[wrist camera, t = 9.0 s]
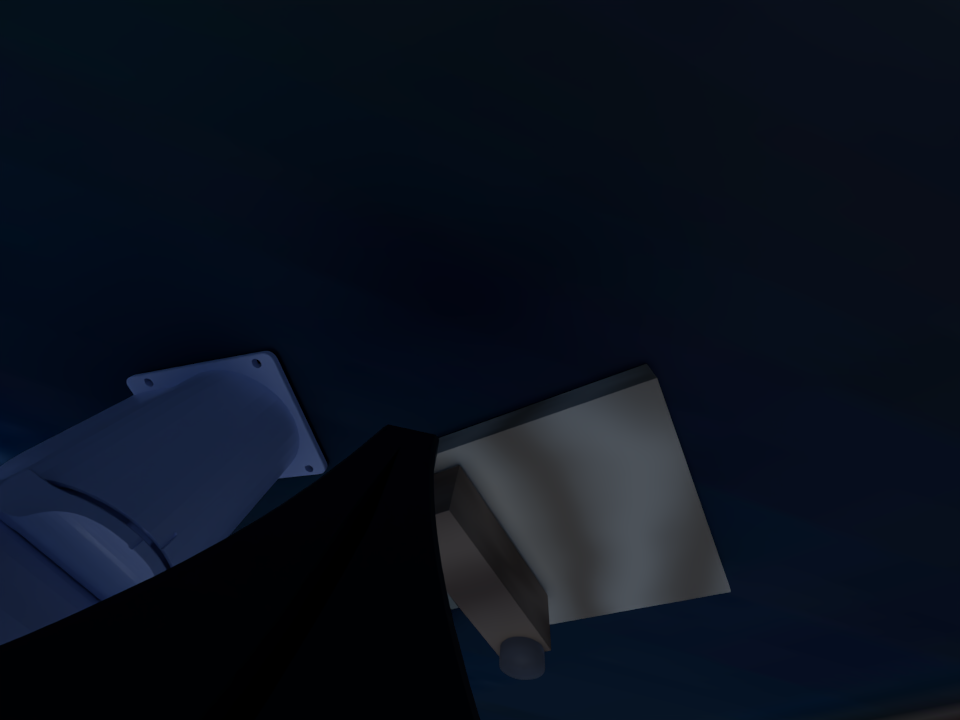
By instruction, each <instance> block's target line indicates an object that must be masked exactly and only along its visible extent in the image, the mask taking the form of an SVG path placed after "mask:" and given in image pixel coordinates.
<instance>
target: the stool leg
mask: <svg viewBox="0 0 960 720" xmlns="http://www.w3.org/2000/svg"><path fill="white" fill-rule="evenodd" d="M434 501H435V516H436V526H437V534H438V543H439V550H440V556H441V563H442V568H443V574H444V579H445V585H446V590H447V593H448V594H449V595H450V596H451V598H452V599H453V600H454V601H455V603H456V604H457V605H458V606H459V608H460V609H461V610H462V611H463V612H464V614H465V615H466V616H467V617H468V619H469V620H470V621H471V622H472V623H473V625H474V626H475V627H476V628H477V630H478V631H479V632H480V633H481V634H482V636H483V637H484V638H485V639H486V641H487V642H488V643H489V644H490V646H491V647H492V648H493V649H494V650H495V652H496V653H497V654H498V655H499V657H500V660H499V666H500V669H501V670H502V671H503V672H504V673H505V674H507V675H508V676H510V677H513V678H516V679H522V680H530V679H535V678H538V677H540V676H541V675H542V674H543V673H544V671H545V659H544V652H545V651H550V650H551V641H550V624H549V608H548V595H547V593H546V592H545V591H544V589H543V588H542V586H541V585H540V583H539V582H538V580H537V579H536V577H535V576H534V574H533V573H532V571H531V570H530V568H529V567H528V565H527V564H526V562H525V561H524V560H523V558H522V557H521V555H520V554H519V552H518V551H517V549H516V548H515V546H514V545H513V543H512V542H511V540H510V539H509V537H508V536H507V534H506V533H505V531H504V530H503V529H502V527H501V526H500V524H499V523H498V521H497V520H496V518H495V517H494V515H493V514H492V512H491V511H490V509H489V508H488V506H487V505H486V503H485V502H484V500H483V499H482V498H481V496H480V495H479V493H478V492H477V490H476V489H475V487H474V486H473V484H472V483H471V481H470V480H469V478H468V477H467V475H466V474H465V472H464V471H463V469H462V468H461V466H460V465H458V466H456V467H453V468H450V469H447V470H445V471H442V472H439V473H437V474H434Z"/></svg>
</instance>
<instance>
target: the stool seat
mask: <svg viewBox="0 0 960 720" xmlns="http://www.w3.org/2000/svg"><path fill="white" fill-rule="evenodd" d="M438 439H439V445H438V451H437V457H436V463H435V469H434V474H437V473H439V472H442V471H445V470H447V469H450V468H453V467H456V466H458V465H460V466H461V468H462V469H463V471H464V472H465V474H466V475H467V477H468V478H469V480H470V481H471V483H472V484H473V486H474V487H475V489H476V490H477V492H478V493H479V495H480V496H481V498H482V499H483V500H484V502H485V503H486V505H487V506H488V508H489V509H490V511H491V512H492V514H493V515H494V517H495V518H496V520H497V521H498V523H499V524H500V526H501V527H502V529H503V530H504V531H505V533H506V534H507V536H508V537H509V539H510V540H511V542H512V543H513V545H514V546H515V548H516V549H517V551H518V552H519V554H520V555H521V557H522V558H523V560H524V561H525V562H526V564H527V565H528V567H529V568H530V570H531V571H532V573H533V574H534V576H535V577H536V579H537V580H538V582H539V583H540V585H541V586H542V588H543V589H544V591H545V592H546V593H547V595H548V608H549V624H555V623H561V622H566V621H572V620H577V619H583V618H588V617H594V616H599V615H605V614H610V613H616V612H621V611H627V610H633V609H638V608H644V607H649V606H655V605H660V604H666V603H671V602H677V601H682V600H688V599H693V598H699V597H705V596H710V595H716V594H721V593H727V592H731V590H730V587H729V584H728V581H727V578H726V575H725V572H724V570H723V567H722V564H721V561H720V558H719V555H718V552H717V549H716V547H715V544H714V541H713V538H712V535H711V532H710V529H709V526H708V524H707V521H706V518H705V515H704V512H703V509H702V506H701V503H700V500H699V498H698V495H697V492H696V489H695V486H694V483H693V480H692V477H691V475H690V472H689V469H688V466H687V463H686V460H685V457H684V454H683V451H682V449H681V446H680V443H679V440H678V437H677V434H676V431H675V428H674V426H673V423H672V420H671V417H670V414H669V411H668V408H667V405H666V402H665V400H664V397H663V394H662V391H661V388H660V385H659V382H658V379H657V377H656V376H655V375H654V373H653V372H652V370H651V369H650V368H649V366H648V365H647V364H644V365H641V366H639V367H636V368H633V369H630V370H627V371H625V372H622V373H619V374H616V375H613V376H611V377H608V378H605V379H602V380H599V381H597V382H594V383H591V384H588V385H586V386H583V387H580V388H577V389H574V390H572V391H569V392H566V393H563V394H560V395H558V396H555V397H552V398H549V399H546V400H544V401H541V402H538V403H535V404H533V405H530V406H527V407H524V408H521V409H519V410H516V411H513V412H510V413H507V414H505V415H502V416H499V417H496V418H493V419H491V420H488V421H485V422H482V423H480V424H477V425H474V426H471V427H468V428H466V429H463V430H460V431H457V432H454V433H452V434H449V435H446V436H443V437H440V438H438ZM447 595H448V599H449V604H450V609H455V608H459V606H458V605H457V604H456V603H455V601H454V600H453V599H452V598H451V596H450V595H449V594H448V593H447Z"/></svg>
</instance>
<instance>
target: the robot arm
mask: <svg viewBox="0 0 960 720" xmlns="http://www.w3.org/2000/svg"><path fill="white" fill-rule="evenodd" d="M257 360H259V361H260V362H261V364H259V363H258V362H257ZM127 385H128V387H129V388H130V390H131V391H132V393H133V394H134V395H133V396H131V397H129V398H127V399H125V400H123V401H121V402H119V403H118V404H116V405H114V406H112V407H110V408H108V409H106V410H104V411H102V412H100V413H98V414H96V415H94V416H92V417H90V418H88V419H87V420H85V421H83V422H81V423H79V424H77V425H75V426H73V427H71V428H69V429H67V430H65V431H63V432H61V433H59V434H57V435H55V436H54V437H52V438H50V439H48V440H46V441H44V442H42V443H40V444H38V445H36V446H34V447H32V448H30V449H28V450H26V451H24V452H23V453H21V454H19V455H17V456H16V457H14V458H12V459H11V460H9V461H8V462H6V463H5V464H3V465H2V466H1V467H0V720H480V718H479V714H478V711H477V708H476V704H475V701H474V698H473V694H472V691H471V688H470V684H469V680H468V676H467V673H466V669H465V665H464V661H463V657H462V653H461V649H460V646H459V642H458V638H457V634H456V630H455V626H454V622H453V618H452V613H451V609H450V604H449V599H448V595H447V590H446V585H445V579H444V574H443V568H442V563H441V556H440V550H439V543H438V534H437V526H436V516H435V501H434V469H435V463H436V457H437V451H438V445H439V439H438V437H437V436H436V435H433V434H429V433H424V432H420V431H415V430H410V429H406V428H401V427H397V426H392V425H387V426H385V427H383V428H382V429H381V430H380V431H379V432H378V433H376V434H375V435H374V436H373V437H372V438H370V439H369V440H368V441H367V442H366V443H364V444H363V445H362V446H361V447H360V448H358V449H357V450H356V451H355V452H353V453H352V454H351V455H350V456H348V457H347V458H346V459H344V460H343V461H342V462H341V463H339V464H338V465H337V466H335V467H334V468H333V469H331V470H330V471H329V472H327V473H326V474H325V475H323V476H322V477H321V478H319V479H318V480H317V481H315V482H314V483H312V484H311V485H309V486H308V487H306V488H305V489H303V490H302V491H301V492H299V493H298V494H296V495H295V496H293V497H292V498H290V499H289V500H287V501H286V502H285V503H283V504H281V505H280V506H278V507H277V508H275V509H274V510H272V511H271V512H269V513H267V514H266V515H264V516H263V517H261V518H259V519H258V520H256V521H254V522H253V523H251V524H249V525H248V526H246V527H244V528H243V529H241V530H239V531H237V532H236V533H234V534H232V535H231V536H229V535H230V534H231V533H232V532H233V530H234V529H235V528H236V527H237V526H238V525H239V523H240V522H241V521H242V520H243V519H244V518H245V516H246V515H247V514H248V513H249V512H250V511H251V510H252V508H253V507H254V506H255V505H256V504H257V503H258V501H259V500H260V499H261V498H262V497H263V496H264V494H265V493H266V492H267V491H268V490H269V489H270V487H271V486H272V485H273V484H274V483H275V482H276V480H277V479H278V478H287V477H296V476H305V475H314V474H321V473H323V472H324V471H325V470H326V469H327V466H328V465H327V462H326V460H325V458H324V456H323V454H322V452H321V449H320V447H319V445H318V443H317V441H316V439H315V437H314V435H313V433H312V430H311V428H310V426H309V424H308V422H307V420H306V418H305V416H304V414H303V411H302V409H301V407H300V405H299V403H298V401H297V399H296V397H295V395H294V392H293V390H292V388H291V386H290V384H289V382H288V380H287V378H286V376H285V373H284V371H283V369H282V367H281V365H280V363H279V361H278V359H277V357H276V356H275V354H273V353H272V352H270V351H261V352H256V353H250V354H245V355H239V356H234V357H228V358H223V359H218V360H212V361H207V362H201V363H196V364H190V365H185V366H179V367H174V368H168V369H163V370H157V371H152V372H146V373H141V374H136V375H133V376H131V377H129V378H128V379H127ZM309 465H310V466H312V467H313V468H312V467H310V466H309ZM228 536H229V537H228Z"/></svg>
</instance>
